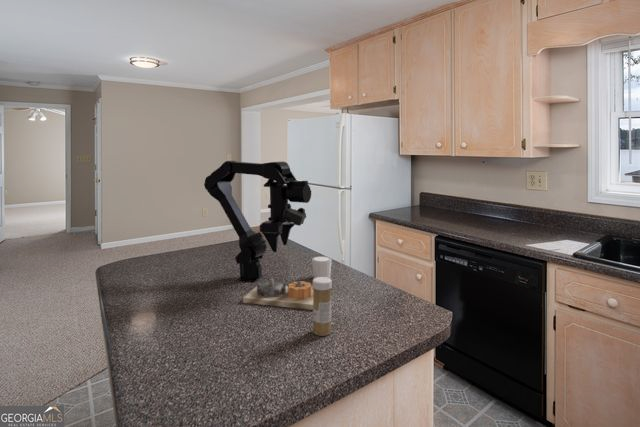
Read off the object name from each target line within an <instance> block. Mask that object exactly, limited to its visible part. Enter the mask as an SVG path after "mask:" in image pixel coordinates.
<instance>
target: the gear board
mask: <svg viewBox="0 0 640 427" xmlns="http://www.w3.org/2000/svg"><path fill="white" fill-rule="evenodd" d="M296 282H297V287H302V280H298V281H296ZM242 303H244V304H253V305H263V306H270V307H271V306H272V307H273V306H274V307H281V308H282V307H283V308H290V309H302V310H311V311H313V287H312V296H311V297H308V298H307V299H298V300H297V299H295V298H290V297H289V296H288V285H286V282H279V281H278V280H274V278H269V279H268V281H267V280H266V281H264V282H263V283H258V284H257V285H256V286H254V288H253V289H251V290H250V291H249V292H248V293H246V294H245V295H244V296H243V297H242Z"/></svg>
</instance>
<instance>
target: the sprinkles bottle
mask: <svg viewBox="0 0 640 427" xmlns="http://www.w3.org/2000/svg"><path fill="white" fill-rule="evenodd" d="M332 282H333V281H332V279H331V277H330V278H327V277H317V278H314V277H313V279H312V283H311V286H312V288H313V310H312V311H313V312H312V314H313V315H312V316H313V317H312V318H313V329H312V332H313V334H314V335H316V336H320V337H324V336H325V337H326V336H329V335H330V334H332V326H331V325H332V324H331V323H332V288H333V285H332Z"/></svg>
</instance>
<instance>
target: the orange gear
mask: <svg viewBox="0 0 640 427" xmlns="http://www.w3.org/2000/svg"><path fill="white" fill-rule="evenodd" d="M301 281H302V280H301ZM297 282H298V281H293V282H291V283H288V284H287V286H288V296H289V297H290V298H295V299H297V300H298V299H307V298H308V297H311V296H312V288H313V285H312V283H311V282H307V281H302V287H297Z"/></svg>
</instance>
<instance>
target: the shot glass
mask: <svg viewBox="0 0 640 427" xmlns="http://www.w3.org/2000/svg"><path fill="white" fill-rule="evenodd" d="M311 262H312V263H311V264H312V272H313V273H312V275H313V279H314V278H317V277H327V278H330V279H331V272H332V271H331V270H332V262H333V259H332V257H330V256H324V255H321V256H314V257H312V258H311Z"/></svg>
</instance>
